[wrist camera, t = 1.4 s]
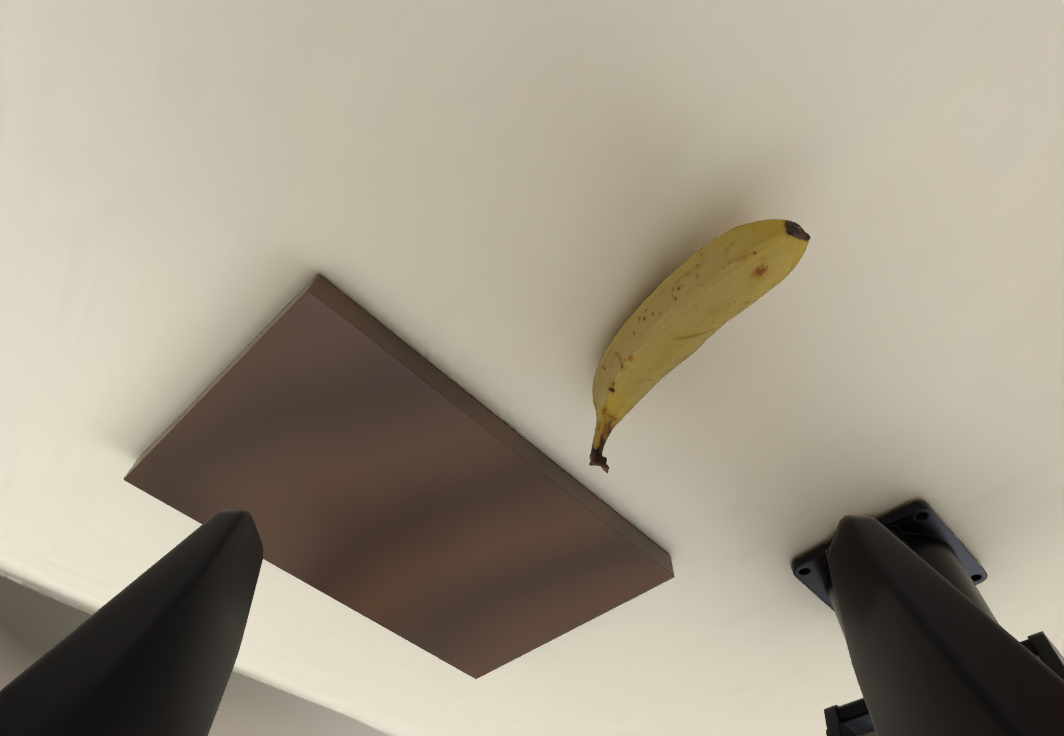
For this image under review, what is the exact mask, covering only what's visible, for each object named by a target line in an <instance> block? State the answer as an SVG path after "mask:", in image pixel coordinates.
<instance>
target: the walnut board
mask: <svg viewBox="0 0 1064 736" xmlns="http://www.w3.org/2000/svg"><path fill="white" fill-rule="evenodd" d="M124 480H125V481H127V482H128V483H130V484H132V485H134V486H136V487H137V488H139V489H141V490H143V491H144V492H146V493H148V494H150V495H151V496H153V497H155V498H157V499H159V500H160V501H162V502H164V503H166V504H167V505H169V506H171V507H173V508H174V509H176V510H178V511H180V512H181V513H183V514H185V515H187V516H189V517H190V518H192V519H194V520H196V521H197V522H199V523H201V524H204V523H205V522H206V521H208V520H209V519H210V518H211V517H212V516H214V515H215V514H216V513H218V512H220V511H222V510H246V511H248V512H249V513H250V514H251V516H252V518H253V520H254V523H255V526H256V528H257V531H258V533H259V536H260V539H261V541H262V544H263V559H265V560H266V561H268V562H270V563H272V564H273V565H275V566H277V567H279V568H280V569H282V570H284V571H286V572H288V573H289V574H291V575H293V576H295V577H296V578H298V579H300V580H302V581H303V582H305V583H307V584H309V585H311V586H312V587H314V588H316V589H318V590H319V591H321V592H323V593H325V594H326V595H328V596H330V597H332V598H334V599H335V600H337V601H339V602H341V603H342V604H344V605H346V606H348V607H349V608H351V609H353V610H355V611H356V612H358V613H360V614H362V615H364V616H365V617H367V618H369V619H371V620H372V621H374V622H376V623H378V624H379V625H381V626H383V627H385V628H387V629H388V630H390V631H392V632H394V633H395V634H397V635H399V636H401V637H402V638H404V639H406V640H408V641H410V642H411V643H413V644H415V645H417V646H418V647H420V648H422V649H424V650H425V651H427V652H429V653H431V654H432V655H434V656H436V657H438V658H440V659H441V660H443V661H445V662H447V663H448V664H450V665H452V666H454V667H455V668H457V669H459V670H461V671H463V672H464V673H466V674H468V675H470V676H471V677H473V678H475V679H477V678H479V677H481V676H483V675H485V674H487V673H489V672H491V671H493V670H495V669H497V668H499V667H501V666H502V665H504V664H506V663H508V662H510V661H512V660H514V659H516V658H518V657H520V656H522V655H524V654H526V653H528V652H530V651H532V650H534V649H536V648H538V647H539V646H541V645H543V644H545V643H547V642H549V641H551V640H553V639H555V638H557V637H559V636H561V635H563V634H565V633H567V632H569V631H571V630H573V629H574V628H576V627H578V626H580V625H582V624H584V623H586V622H588V621H590V620H592V619H594V618H596V617H598V616H600V615H602V614H604V613H606V612H608V611H609V610H611V609H613V608H615V607H617V606H619V605H621V604H623V603H625V602H627V601H629V600H631V599H633V598H635V597H637V596H639V595H641V594H643V593H645V592H646V591H648V590H650V589H652V588H654V587H656V586H658V585H660V584H662V583H664V582H666V581H668V580H670V579H672V578H674V572H673V566H672V561H671V556H670V555H669V554H667V553H666V552H665V551H664V550H662V549H661V548H660V547H659V546H657V545H656V544H655V543H654V542H652V541H651V540H650V539H649V538H647V537H646V536H645V535H644V534H642V533H641V532H640V531H639V530H637V529H636V528H635V527H634V526H632V525H631V524H630V523H629V522H627V521H626V520H625V519H624V518H622V517H621V516H620V515H619V514H617V513H616V512H615V511H614V510H612V509H611V508H610V507H609V506H608V505H606V504H605V503H604V502H603V501H601V500H600V499H599V498H598V497H596V496H595V495H594V494H593V493H591V492H590V491H589V490H588V489H586V488H585V487H584V486H583V485H581V484H580V483H579V482H578V481H576V480H575V479H574V478H573V477H571V476H570V475H569V474H568V473H566V472H565V471H564V470H563V469H561V468H560V467H559V466H558V465H556V464H555V463H554V462H553V461H551V460H550V459H549V458H548V457H546V456H545V455H544V454H543V453H541V452H540V451H539V450H538V449H536V448H535V447H534V446H533V445H531V444H530V443H529V442H528V441H527V440H525V439H524V438H523V437H522V436H520V435H519V434H518V433H517V432H515V431H514V430H513V429H512V428H510V427H509V426H508V425H507V424H505V423H504V422H503V421H502V420H500V419H499V418H498V417H497V416H495V415H494V414H493V413H492V412H490V411H489V410H488V409H487V408H485V407H484V406H483V405H482V404H480V403H479V402H478V401H477V400H475V399H474V398H473V397H472V396H470V395H469V394H468V393H467V392H465V391H464V390H463V389H462V388H460V387H459V386H458V385H457V384H455V383H454V382H453V381H452V380H450V379H449V378H448V377H447V376H446V375H444V374H443V373H442V372H441V371H439V370H438V369H437V368H436V367H434V366H433V365H432V364H431V363H429V362H428V361H427V360H426V359H424V358H423V357H422V356H421V355H419V354H418V353H417V352H416V351H414V350H413V349H412V348H411V347H409V346H408V345H407V344H406V343H404V342H403V341H402V340H401V339H399V338H398V337H397V336H396V335H394V334H393V333H392V332H391V331H389V330H388V329H387V328H386V327H384V326H383V325H382V324H381V323H379V322H378V321H377V320H376V319H374V318H373V317H372V316H371V315H369V314H368V313H367V312H366V311H365V310H363V309H362V308H361V307H360V306H358V305H357V304H356V303H355V302H353V301H352V300H351V299H350V298H348V297H347V296H346V295H345V294H343V293H342V292H341V291H340V290H338V289H337V288H336V287H335V286H333V285H332V284H331V283H330V282H328V281H327V280H326V279H325V278H323V277H322V276H321V275H320V274H317V275H316V276H315V277H314V278H313V279H312V280H311V281H310V282H309V283H308V284H307V285H306V286H305V287H304V288H303V289H302V290H301V292H300V293H299V294H298V295H297V296H296V297H295V298H294V299H293V300H292V301H291V302H290V303H289V304H288V305H287V306H286V307H285V308H284V309H283V310H282V311H281V312H280V313H279V314H278V315H277V316H276V317H275V318H274V319H273V320H272V321H271V322H270V323H269V325H268V326H267V327H266V328H265V329H264V330H263V331H262V332H261V333H260V334H259V335H258V336H257V337H256V338H255V339H254V340H253V341H252V342H251V343H250V344H249V345H248V346H247V347H246V348H245V349H244V350H243V351H242V352H241V353H240V354H239V355H238V356H237V358H236V359H235V360H234V361H233V362H232V363H231V364H230V365H229V366H228V367H227V368H226V369H225V370H224V371H223V372H222V373H221V374H220V375H219V376H218V377H217V378H216V379H215V380H214V381H213V382H212V383H211V384H210V385H209V386H208V387H207V388H206V389H205V391H204V392H203V393H202V394H201V395H200V396H199V397H198V398H197V399H196V400H195V401H194V402H193V403H192V404H191V405H190V406H189V407H188V408H187V409H186V410H185V411H184V412H183V413H182V414H181V415H180V416H179V417H178V418H177V419H176V420H175V421H174V422H173V424H172V425H171V426H170V427H169V428H168V429H167V430H166V431H165V432H164V433H163V434H162V435H161V436H160V437H159V438H158V439H157V440H156V441H155V442H154V443H153V444H152V445H151V446H150V447H149V448H148V449H147V450H146V451H145V452H144V453H143V454H142V455H141V457H140V458H139V459H138V460H137V461H136V462H135V464H134V465H133V466H132V468H131V469H130V470H129V472H128V473H127V475H126V476H125V477H124Z"/></svg>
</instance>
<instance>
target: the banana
mask: <svg viewBox="0 0 1064 736" xmlns="http://www.w3.org/2000/svg"><path fill="white" fill-rule="evenodd" d="M809 239H810V236H809V235H808V234H807V233H806V232H805V231H804V230H803V229H802V227H801V226H800V225H798V224H797V223H795V222H791V221H788V220H763V221H756V222H752V223H747V224H744V225H741V226H738V227H735V228H734V229H732V230H730V231H728V232H726V233H724V234H723V235H721V236H719V237H718V238H716V239H715V240H713V241H712V242H710V243H709V244H707V245H706V246H705V247H703V248H702V249H701V250H699V251H698V252H697V253H695V254H694V255H693V256H692V257H691V258H689V259H688V260H687V261H686V262H685V263H683V264H682V265H681V266H680V267H679V268H678V269H676V270H675V271H674V272H673V273H672V274H671V275H670V276H668V277H667V278H666V279H665V280H664V281H663V282H662V283H661V284H660V285H659V286H658V287H657V288H656V289H655V290H654V291H653V292H652V293H651V294H650V295H649V296H648V298H647V299H646V300H645V301H644V302H643V303H642V304H641V305H640V306H639V307H638V308H637V309H636V310H635V312H634V313H633V314H632V315H631V316H630V317H629V318H628V319H627V321H626V322H625V323H624V324H623V326H622V327H621V328H620V330H619V331H618V332H617V334H616V335H615V337H614V338H613V340H612V342H611V343H610V344H609V346H608V347H607V349H606V350H605V352H604V354H603V356H602V358H601V360H600V362H599V365H598V367H597V370H596V373H595V377H594V382H593V391H592V392H593V402H594V406H595V409H596V414H597V422H596V429H595V435H594V439H593V444H592V450H591V454H590V460H591V461H590V463H589V465H597V466H601V467H602V469H603V470H604V471H605V472H606V473H608V470H609V466H608V465H607V464H606V461H607V459H606V457H603V456H602V451H603V447H604V444H605V442H606V440H607V438H608V436H609V434H610V433H611V431H612V429H613V428H614V427H615V425H616V424H617V423H618V422H619V421H620V420H621V419H622V418H623V417H624V416H625V415H626V414H627V413H628V412H629V411H630V410H631V409H632V408H633V407H634V406H635V405H636V404H637V403H638V402H639V401H640V400H641V399H642V398H643V397H644V396H645V395H646V394H647V393H648V392H649V391H650V390H651V388H652V387H653V386H654V385H655V384H656V383H657V382H659V381H660V380H661V379H662V378H663V377H664V376H665V375H666V374H668V373H669V372H670V371H671V370H672V369H674V368H675V367H676V366H677V365H679V364H680V363H681V362H682V361H684V360H685V359H686V358H687V357H689V356H690V355H691V354H692V353H693V352H695V351H696V350H697V349H698V348H699V347H700V346H701V345H702V344H703V343H704V341H705V340H706V339H708V338H709V337H710V336H711V335H712V334H713V333H715V332H716V331H717V330H718V329H719V328H720V327H721V326H723V325H724V324H725V323H726V322H727V321H729V320H730V319H732V318H733V317H735V316H736V315H737V314H739V313H740V312H741V311H743V310H744V309H745V308H747V307H748V306H750V305H751V304H752V303H754V302H755V301H756V300H758V299H759V298H760V297H762V296H763V295H764V294H765V293H767V292H768V291H769V290H770V289H772V288H773V287H774V286H776V285H777V284H778V283H780V282H781V281H782V280H783V279H784V278H785V277H786V276H787V275H788V274H789V273H790V272H791V271H792V270H793V269H794V267H795V266H796V265H797V263H798V262H799V260H800V259H801V257H802V256H803V254H804V252H805V250H806V247H807V244H808V241H809Z"/></svg>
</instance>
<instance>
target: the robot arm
mask: <svg viewBox="0 0 1064 736" xmlns="http://www.w3.org/2000/svg"><path fill="white" fill-rule="evenodd" d="M262 560H263V544H262V541H261V539H260V536H259V533H258V531H257V528H256V526H255V523H254V520H253V518H252V516H251V514H250V513H249V512H248V511H246V510H222V511H220V512H218V513H216V514H215V515H214V516H212V517H211V518H210V519H209V520H208V521H206V522H205V523H204V524H203V525H201V526H200V527H199V528H198V529H197V530H195V531H194V532H193V533H192V534H191V535H189V536H188V537H187V538H186V539H184V540H183V541H182V542H181V543H180V544H178V545H177V546H176V547H175V548H173V549H172V550H171V551H170V552H169V553H167V554H166V555H165V556H164V557H163V558H161V559H160V560H159V561H158V562H156V563H155V564H154V565H153V566H152V567H150V568H149V569H148V570H147V571H145V572H144V573H143V574H142V575H141V576H139V577H138V578H137V579H136V580H135V581H133V582H132V583H131V584H130V585H128V586H127V587H126V588H125V589H124V590H122V591H121V592H120V593H119V594H118V595H116V596H115V597H114V598H113V599H111V600H110V601H109V602H108V603H107V604H105V605H104V606H103V607H102V608H100V609H99V610H98V611H97V612H96V613H94V614H93V615H92V616H91V617H90V618H88V619H87V620H86V621H85V622H84V623H82V624H81V625H80V626H79V627H77V628H76V629H75V630H74V631H73V632H71V633H70V634H69V635H68V636H66V637H65V638H64V639H63V640H62V641H60V642H59V643H58V644H57V645H55V646H54V647H53V648H52V649H51V650H49V651H48V652H47V653H46V654H45V655H43V656H42V657H41V658H40V659H39V660H37V661H36V662H35V663H34V664H32V665H31V666H30V667H29V668H28V669H26V670H25V671H24V672H23V673H21V674H20V675H19V676H18V677H17V678H15V679H14V680H13V681H12V682H10V683H9V684H8V685H7V686H6V687H4V688H3V689H2V690H1V691H0V736H208V734H209V731H210V728H211V726H212V723H213V720H214V718H215V715H216V712H217V710H218V707H219V704H220V702H221V699H222V696H223V694H224V691H225V688H226V686H227V683H228V680H229V678H230V675H231V672H232V670H233V667H234V664H235V661H236V658H237V655H238V652H239V649H240V645H241V642H242V638H243V634H244V630H245V627H246V623H247V619H248V615H249V611H250V607H251V603H252V599H253V595H254V591H255V587H256V584H257V580H258V576H259V572H260V568H261V564H262ZM791 568H792V571H793V574H794V575H795V576H796V577H797V578H798V579H799V580H800V581H801V582H802V583H803V584H804V585H806V586H807V587H808V588H809V589H810V590H811V591H812V592H813V593H814V594H816V595H817V596H818V597H819V598H820V599H821V600H822V601H823V602H825V603H826V604H827V605H828V606H829V607H830V608H831V609H832V610H833V611H835V613H836V616H837V618H838V621H839V623H840V626H841V629H842V631H843V634H844V636H845V639H846V642H847V646H848V650H849V654H850V658H851V661H852V665H853V668H854V671H855V674H856V677H857V680H858V683H859V686H860V689H861V691H862V694H863V697H864V698H862V699H859V700H856V701H853V702H850V703H848V704H845V705H842V706H837V705H834V706H832V707H829V708H826V709H824V714H825V719H826V725H827V730H826V734H827V736H1064V657H1063V656H1062V655H1061V654H1060V652H1059V651H1058V650H1057V649H1056V647H1055V646H1054V645H1053V644H1052V642H1051V641H1050V640H1049V639H1048V637H1047V636H1046V635H1045V634H1044V632H1043V631H1041V632H1039V633H1036V634H1033V635H1030V636H1027V637H1028V640H1025V641H1022V642H1019V641H1017V640H1016V639H1015V638H1014V637H1013V636H1012V635H1010V634H1009V633H1008V632H1007V631H1006V630H1005V629H1003V628H1002V627H1001V626H1000V625H999V624H998V622H997V620H996V619H995V617H994V615H993V614H992V612H991V611H990V609H989V607H988V606H987V604H986V602H985V601H984V599H983V597H982V596H981V594H980V592H979V591H978V589H977V588H976V586H975V585H977V584H979V583H981V582H983V581H984V580H985V579H986V578H987V576H988V575H987V573H986V571H985V570H984V568H983V567H982V565H981V564H980V563H979V562H978V561H977V560H976V558H975V557H974V556H973V555H972V554H971V553H970V551H969V550H968V549H967V548H966V547H965V546H964V545H963V543H962V542H961V541H960V540H959V539H958V538H957V536H956V535H955V534H954V533H953V532H952V531H951V529H950V528H949V527H948V526H947V525H946V524H945V522H944V521H943V520H942V519H941V518H940V517H939V516H938V514H937V513H936V512H935V511H934V510H933V509H932V507H931V506H930V505H929V504H928V503H926V502H923V501H919V502H914V503H912V504H909V505H907V506H905V507H903V508H901V509H899V510H897V511H895V512H893V513H891V514H889V515H887V516H885V517H882V518H880V519H878V520H876V519H874V518H873V517H870V516H844V517H843V518H842V519H841V520H840V522H839V524H838V527H837V530H836V532H835V535H834V538H833V541H832V542H831V543H829V544H827V545H824V546H822V547H820V548H818V549H816V550H814V551H812V552H810V553H808V554H806V555H804V556H802V557H800V558H798V559H796V560H794V561H793V562H792V564H791Z"/></svg>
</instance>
